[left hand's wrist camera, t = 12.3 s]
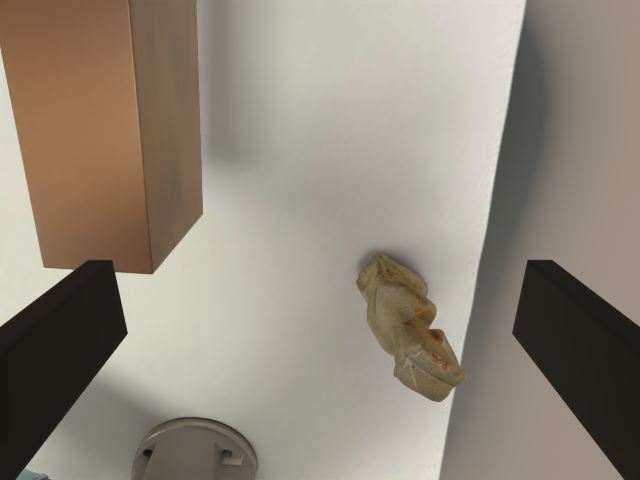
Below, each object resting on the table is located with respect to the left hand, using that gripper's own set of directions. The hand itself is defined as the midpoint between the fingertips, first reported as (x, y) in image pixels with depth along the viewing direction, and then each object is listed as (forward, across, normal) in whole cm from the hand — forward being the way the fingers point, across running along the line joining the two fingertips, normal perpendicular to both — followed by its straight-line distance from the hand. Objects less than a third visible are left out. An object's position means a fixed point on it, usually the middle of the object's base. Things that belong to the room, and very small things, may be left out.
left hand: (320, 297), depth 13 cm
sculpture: (+26, -7, +12) cm, 30 cm away
